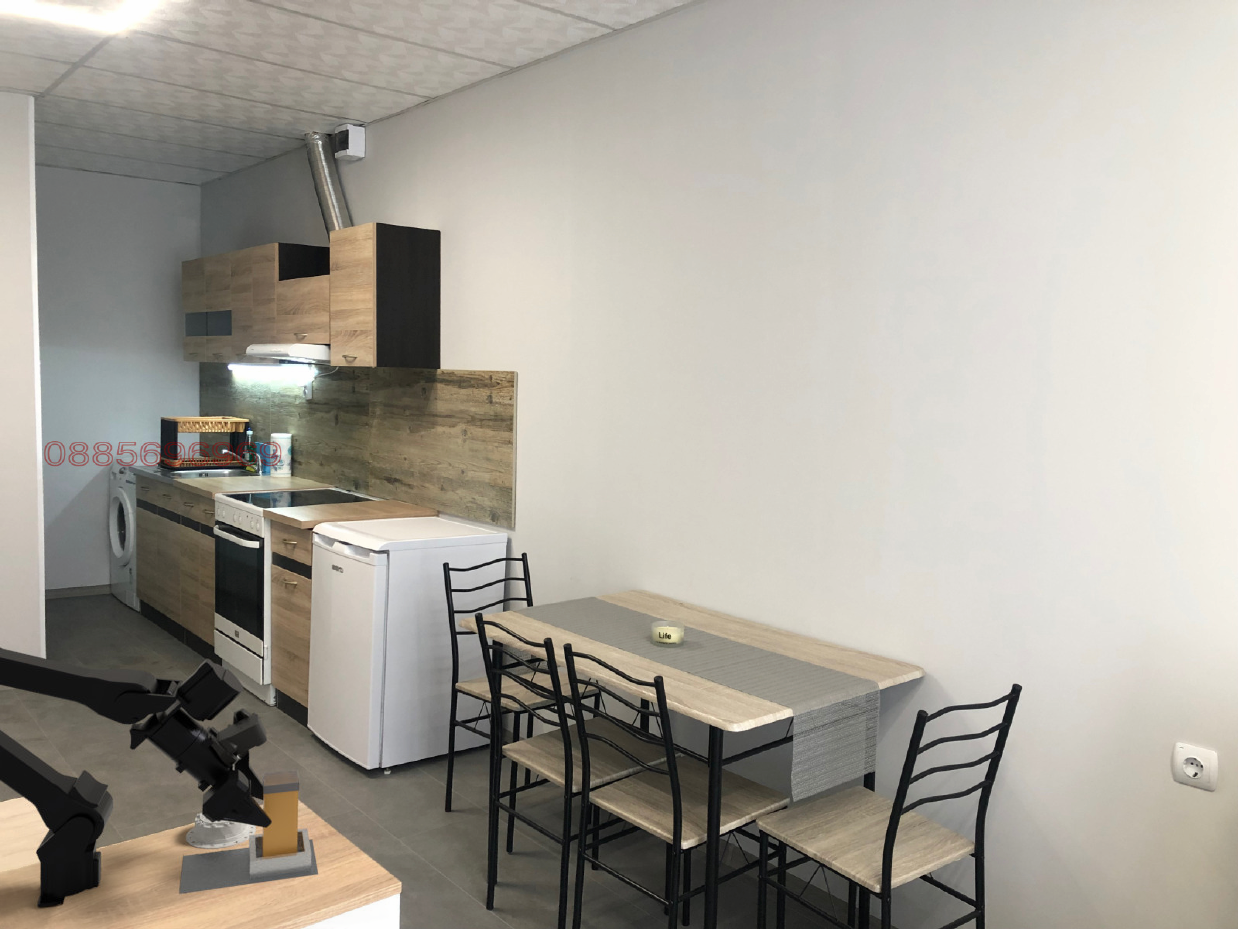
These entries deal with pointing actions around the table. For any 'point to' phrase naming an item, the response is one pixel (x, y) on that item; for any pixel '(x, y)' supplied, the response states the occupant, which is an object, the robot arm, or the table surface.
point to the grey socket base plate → (246, 865)
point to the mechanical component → (218, 833)
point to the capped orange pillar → (280, 812)
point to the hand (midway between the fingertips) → (268, 810)
